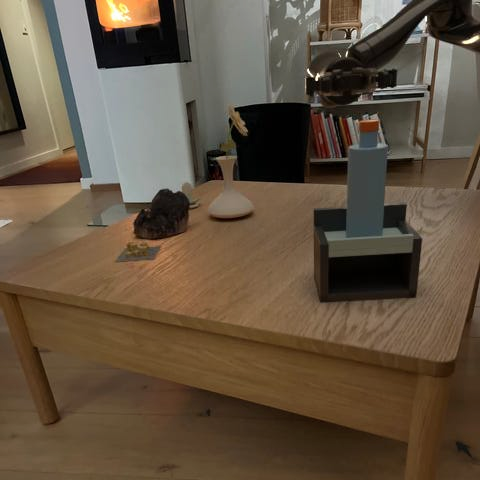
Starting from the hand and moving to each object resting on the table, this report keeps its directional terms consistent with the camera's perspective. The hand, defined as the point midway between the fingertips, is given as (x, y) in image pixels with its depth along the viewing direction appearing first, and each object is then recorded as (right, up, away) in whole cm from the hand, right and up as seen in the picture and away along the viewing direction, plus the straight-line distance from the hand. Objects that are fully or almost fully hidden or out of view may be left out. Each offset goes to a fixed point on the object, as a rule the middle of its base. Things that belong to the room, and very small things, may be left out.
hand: (356, 82), depth 71 cm
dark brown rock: (-35, -15, +40) cm, 55 cm away
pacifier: (-32, -5, +58) cm, 66 cm away
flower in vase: (-19, -9, +47) cm, 52 cm away
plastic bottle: (+1, -23, 0) cm, 23 cm away
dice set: (-38, -22, +27) cm, 51 cm away
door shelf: (+2, -30, +4) cm, 30 cm away
